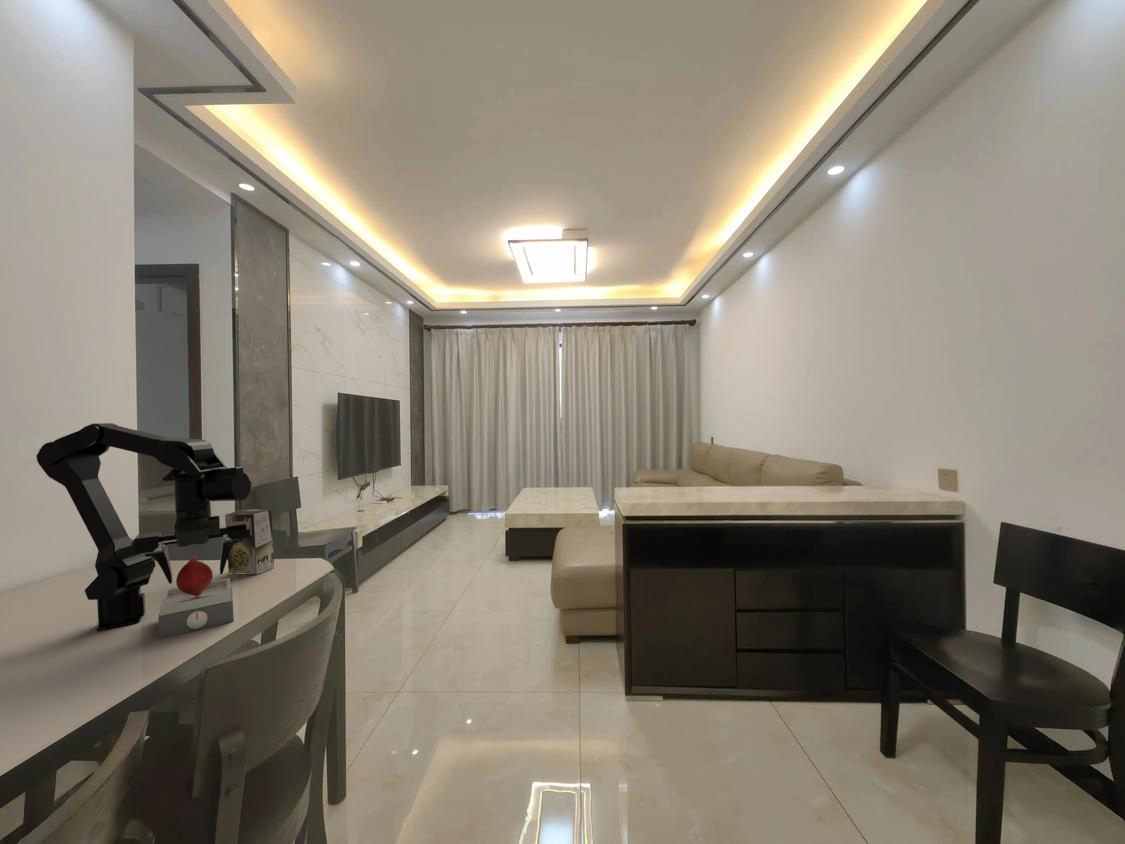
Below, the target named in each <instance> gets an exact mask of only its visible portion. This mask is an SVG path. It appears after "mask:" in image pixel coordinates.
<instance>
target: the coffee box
mask: <svg viewBox="0 0 1125 844" xmlns="http://www.w3.org/2000/svg"><path fill="white" fill-rule="evenodd" d="M272 512H273V511H272V509H271V508H270V509H269V508H263V509H262V508H261V509H259V508H257V509H255V508H254V509H252V508H251V509H240V510H237V511H233V512H231V513H226V514H224V519H225V520H224V522H225V527H227V523H231V522H239V521H247V522H248V523H249V526H250V537H248V538H242V539H240V542H239V543H235V544H234V545H233V547H232V549H231V551H230V553H229V555H228V558H227V568H228V574H229V573H246V574H245V575H254V574H257V575H260V574H262V573H264V572H267V571H269V570H272V569H275V554H274V552H275V551H274V550H275V549H274V534H273V533H274V531H273V515H272ZM259 573H260V574H259Z"/></svg>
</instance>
